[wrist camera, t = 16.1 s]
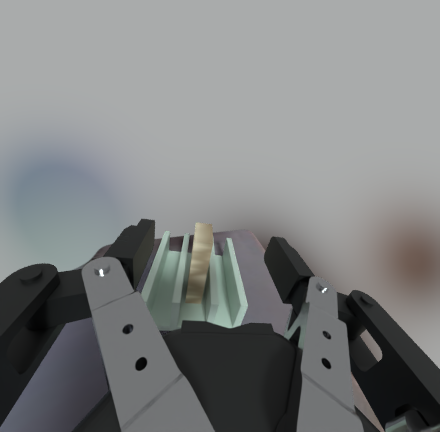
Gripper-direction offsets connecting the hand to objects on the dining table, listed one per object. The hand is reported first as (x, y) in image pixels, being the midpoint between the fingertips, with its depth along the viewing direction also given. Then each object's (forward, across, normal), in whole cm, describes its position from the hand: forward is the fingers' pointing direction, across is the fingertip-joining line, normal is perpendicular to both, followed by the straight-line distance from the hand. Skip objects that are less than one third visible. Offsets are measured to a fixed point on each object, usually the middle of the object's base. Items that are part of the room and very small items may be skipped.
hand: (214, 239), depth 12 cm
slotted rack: (+13, -1, +20) cm, 23 cm away
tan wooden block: (+11, -1, +18) cm, 21 cm away
